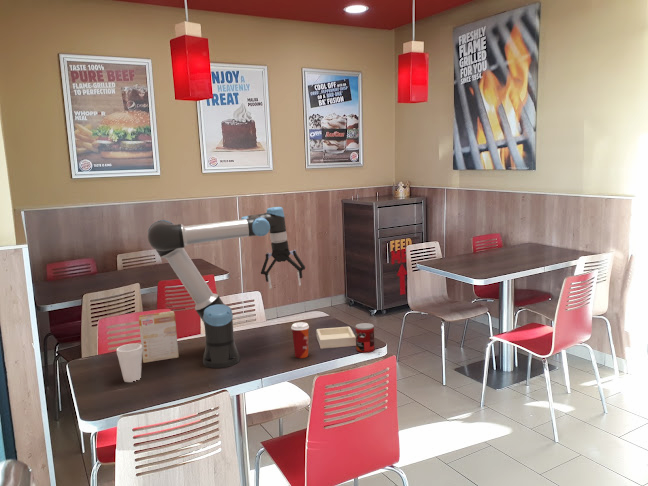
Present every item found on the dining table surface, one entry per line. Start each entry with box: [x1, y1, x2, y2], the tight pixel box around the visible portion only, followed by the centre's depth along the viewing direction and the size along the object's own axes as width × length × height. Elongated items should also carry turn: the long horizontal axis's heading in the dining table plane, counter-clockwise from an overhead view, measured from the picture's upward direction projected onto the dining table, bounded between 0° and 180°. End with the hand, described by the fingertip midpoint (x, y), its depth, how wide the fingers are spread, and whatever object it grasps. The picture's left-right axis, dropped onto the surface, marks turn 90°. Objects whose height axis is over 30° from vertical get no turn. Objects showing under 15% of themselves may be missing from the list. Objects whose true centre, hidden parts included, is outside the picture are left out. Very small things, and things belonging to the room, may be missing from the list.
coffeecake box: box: [138, 310, 180, 363], centre depth 230 cm, size 15×7×20 cm, turn 110°
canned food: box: [355, 322, 375, 354], centre depth 230 cm, size 8×8×11 cm
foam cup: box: [116, 342, 143, 383], centre depth 208 cm, size 10×9×13 cm
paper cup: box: [290, 321, 310, 359], centre depth 225 cm, size 8×8×14 cm
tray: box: [315, 326, 356, 350], centre depth 243 cm, size 16×16×4 cm
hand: (285, 286), depth 241 cm, fingers open, 13 cm apart
